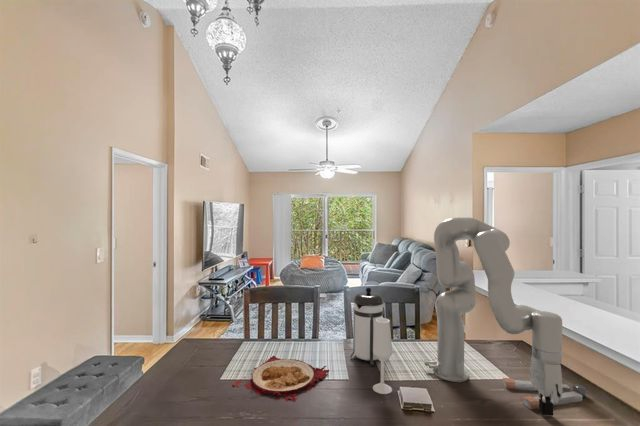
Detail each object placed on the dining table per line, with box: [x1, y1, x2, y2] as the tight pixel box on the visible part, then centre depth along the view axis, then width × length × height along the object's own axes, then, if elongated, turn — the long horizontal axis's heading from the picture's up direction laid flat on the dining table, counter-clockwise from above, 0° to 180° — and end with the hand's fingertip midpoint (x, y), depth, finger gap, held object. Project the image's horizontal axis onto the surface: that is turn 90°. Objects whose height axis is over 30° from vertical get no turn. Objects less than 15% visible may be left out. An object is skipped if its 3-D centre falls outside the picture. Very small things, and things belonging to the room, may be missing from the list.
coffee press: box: [350, 287, 386, 367], centre depth 138 cm, size 17×16×30 cm
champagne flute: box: [372, 317, 393, 395], centre depth 114 cm, size 7×7×24 cm
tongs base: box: [502, 377, 587, 399], centre depth 113 cm, size 25×5×3 cm, turn 80°
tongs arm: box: [522, 390, 583, 410], centre depth 106 cm, size 20×3×2 cm, turn 102°
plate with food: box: [232, 355, 330, 404], centre depth 120 cm, size 25×26×4 cm
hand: (546, 413), depth 99 cm, fingers closed
